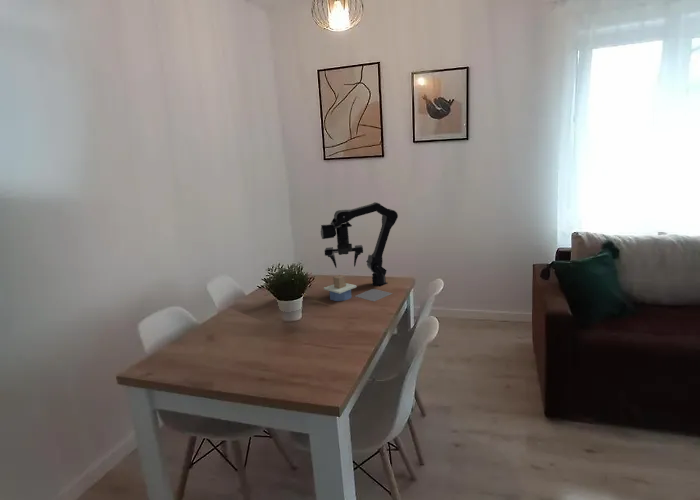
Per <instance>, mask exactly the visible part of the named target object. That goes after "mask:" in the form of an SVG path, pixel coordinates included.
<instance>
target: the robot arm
mask: <svg viewBox="0 0 700 500" xmlns="http://www.w3.org/2000/svg"><path fill="white" fill-rule="evenodd" d="M374 212H377V213H378V214H379V215H381V227H380V230H379V234H378V237H377V241H376V243H375V247H374V250H373V253H372V254H368V257H367V260H366V266H367V268H368V269H369V270H370V271H371V272H372V275H371V278H372V283H370V285H371V286H375V287H382V286H385V285H388V284H389V283H388V282H386V274H387V271H388V270H387V269H385V268H384V267H383V254H384V251H385V248H386V244H387V241H388V239H389V238H388V237H389V234H390V232H391V229H392V227H393V226H394V225H395V224H396V222H397V219H398V217H399V215H398V212H397V211H396V210H394V209H391V208H387V207H386V206H384V205H382V204H381V203H380V202H373V203H372V202H371V203H370V204H367V205H363V206H359V207H356V208H352V209H341V210H339V209H338V210H336V211H335V213H334V214H333V218H332V220H331V222H330V223H329V224H320V225H321V226H320V237H321V239H322V240H328V239H333V238H335V237H336V240H337V241H336V242H337V245H336V247H337V248H334V247H331V246H330V247H325V249H324V256H325V257H326V256H327V257H328V258H330V259H331V262H332V263H333V265H334V267H335V269H337V260H336V256H335V254H337V253H338V255H339V256H342V255H349V253H351V252H354V258H353V259H354V261H353V266H354V268H355V267H356V264H357V260H358V257H359V256H360V255H361V254H363V253H364V247H363V245H362V244H357V245H354V247H353V244H352V243H350V238H349V237H350V236H349V229H348V228H352V226H353V225H352V224H351V223H350V221H352V220H353V219H354V218H356V217H357V218H358V217H361V216H365V215H368V214H371V213H374Z"/></svg>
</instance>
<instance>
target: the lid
mask: <svg viewBox="0 0 700 500" xmlns="http://www.w3.org/2000/svg"><path fill="white" fill-rule="evenodd" d="M332 280H333V284H331V285H328V286H326V287H325V286H324V287H323V290H325V291H331V292H335V293H339V294H340V293H343V292H345V291H348V290H350V289H351V290H353V289H356V288H357V285H356V284H351V283H347V282H346V276H345V275H341V274H337V275H335V276H333V277H332Z"/></svg>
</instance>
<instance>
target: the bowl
mask: <svg viewBox="0 0 700 500" xmlns="http://www.w3.org/2000/svg"><path fill="white" fill-rule="evenodd" d="M329 299H330V301H334V302H345V301H348V300H351V299H352V289H350V290H348V291H345V292H343V293H340V294H339V293H335V292H331V291H329Z"/></svg>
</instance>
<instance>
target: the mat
mask: <svg viewBox="0 0 700 500" xmlns="http://www.w3.org/2000/svg"><path fill="white" fill-rule="evenodd" d="M390 295H393V292H388V291H385V290H384V291H383V290H381V289H376V288H371V289H368V290H366V291H364V292H361V293H359V294H356V295H354V297H355V298H359V299H363V300H366V301H371V302H377V301H379V300H381V299H383V298H386V297H388V296H390Z"/></svg>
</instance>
